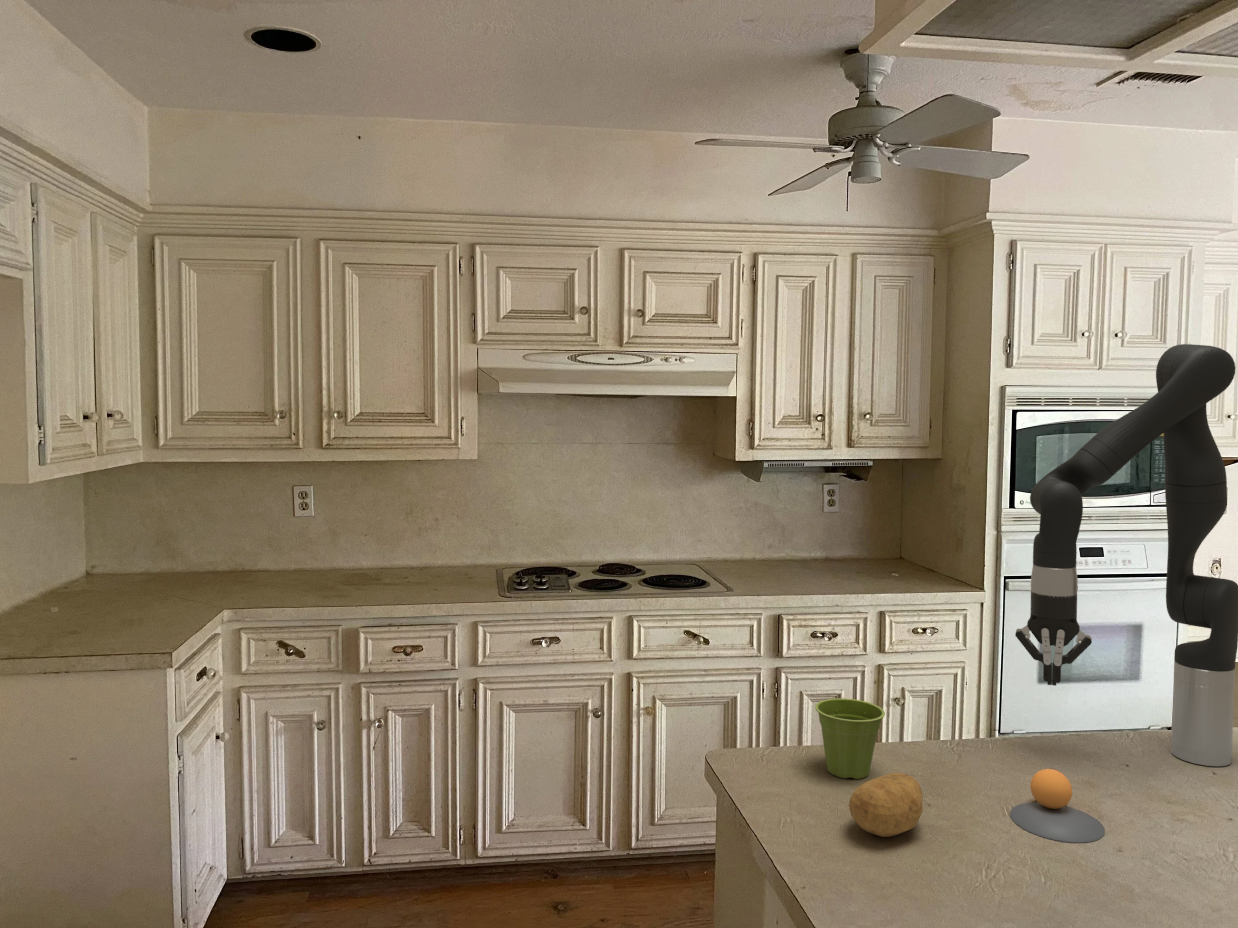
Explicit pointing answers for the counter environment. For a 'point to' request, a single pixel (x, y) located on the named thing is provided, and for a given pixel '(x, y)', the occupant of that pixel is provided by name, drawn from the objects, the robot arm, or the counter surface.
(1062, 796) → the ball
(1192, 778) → the counter surface
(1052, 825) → the disc
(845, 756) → the plant pot
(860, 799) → the potato
